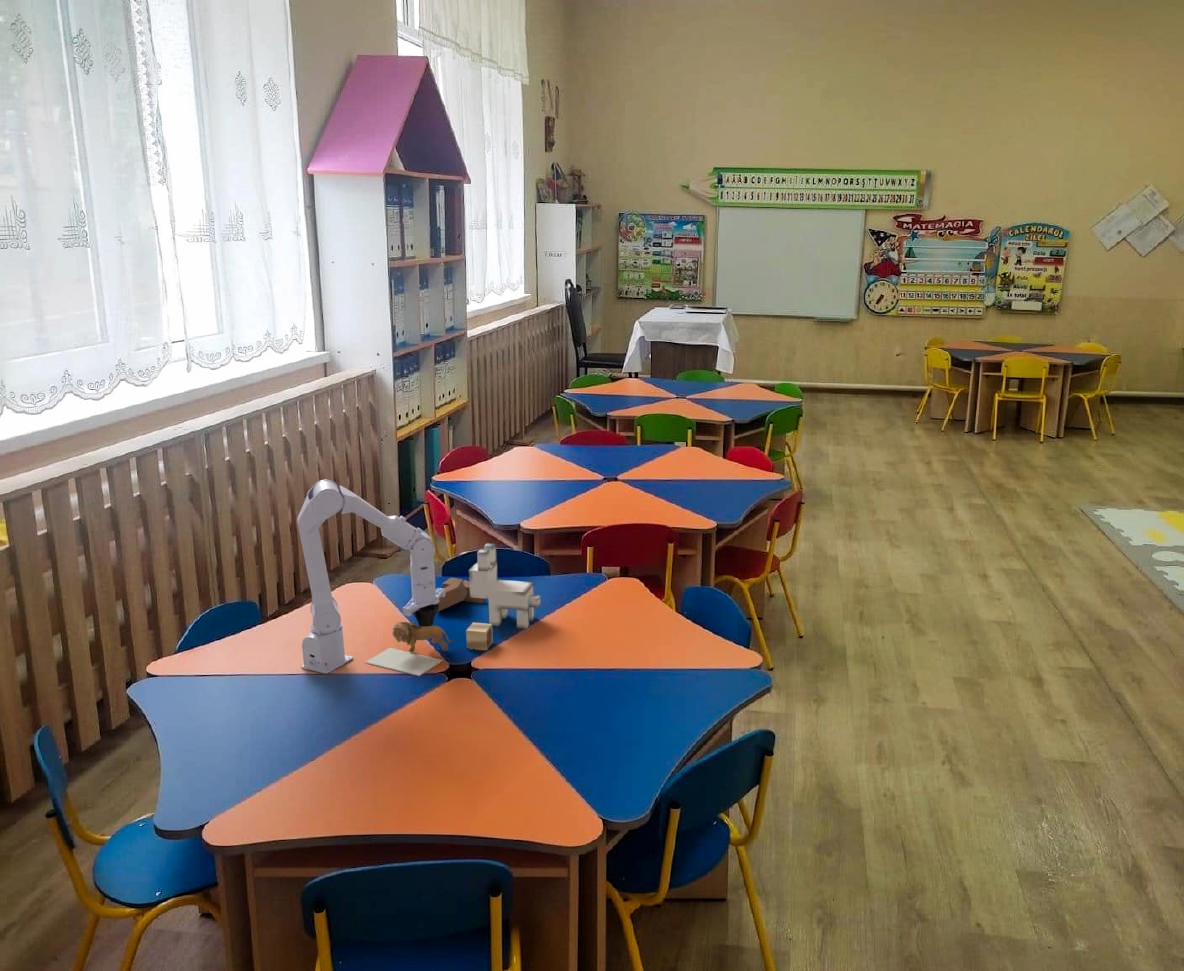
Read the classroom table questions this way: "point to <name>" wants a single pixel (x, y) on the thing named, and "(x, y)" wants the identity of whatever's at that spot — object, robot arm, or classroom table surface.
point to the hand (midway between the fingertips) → (426, 633)
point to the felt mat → (404, 661)
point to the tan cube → (479, 636)
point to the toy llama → (501, 590)
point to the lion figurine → (419, 634)
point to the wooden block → (456, 593)
